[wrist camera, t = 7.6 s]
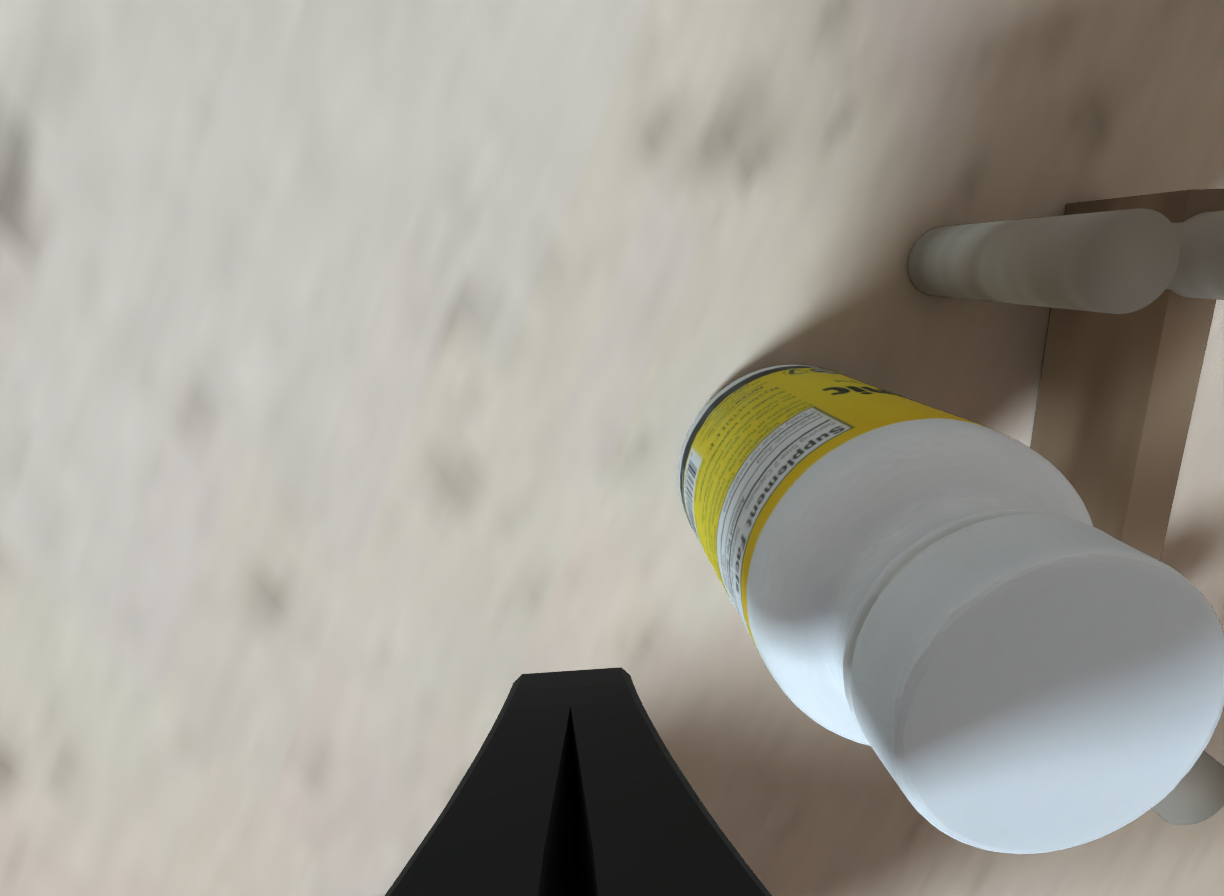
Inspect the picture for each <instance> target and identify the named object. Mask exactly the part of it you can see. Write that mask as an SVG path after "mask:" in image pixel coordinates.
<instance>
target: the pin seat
mask: <svg viewBox="0 0 1224 896" xmlns="http://www.w3.org/2000/svg"><path fill="white" fill-rule="evenodd" d="M908 272H909V276H910V279H911V281H912V283H913V284H914V286H915V287H916V288H917V289H918V290H920V291H921V292H923V293H925V294H927V295H931V296H939V297H950V298H960V299H970V300H980V301H990V302H1000V303H1010V304H1020V305H1030V306H1040V307H1051V312H1050V319H1049V325H1048V332H1047V339H1046V346H1045V352H1044V359H1043V366H1042V373H1041V380H1040V386H1039V393H1038V400H1037V407H1036V413H1035V420H1034V427H1033V434H1032V440H1031V447H1030V448H1031V449H1032V450H1034V451H1036V452H1037V453H1039V454H1040V455H1041V456H1043V457H1044V458H1045V459H1047V460H1048V461H1049V462H1050V463H1051V464H1052V465H1053V466H1055V467H1056V468H1057V469H1058V470H1059V471H1060V472H1061V473H1062V474H1063V475H1064V476H1065V478H1066V479H1067V480H1068V481H1069V482H1070V483H1071V485H1072V486H1073V487H1074V489H1075V490H1076V492H1077V493H1078V495H1079V496H1080V498H1081V499H1082V501H1083V503H1084V505H1085V507H1086V509H1087V511H1088V513H1089V516H1090V518H1091V521H1092V524H1093V527H1095V528H1097V529H1099V530H1102V531H1104V532H1105V533H1107V534H1108V535H1110V536H1112V537H1113V538H1115V539H1117V540H1119V541H1121V542H1123V543H1125V544H1127V545H1129V546H1131V547H1133V548H1135V549H1137V550H1139V551H1141V552H1143V553H1145V554H1147V555H1149V556H1151V557H1153V558H1155V559H1157V560H1159V561H1160V559H1161V554H1162V550H1163V545H1164V540H1165V536H1166V531H1167V526H1168V522H1169V517H1170V512H1171V508H1172V503H1173V499H1174V494H1175V489H1176V485H1177V480H1178V475H1179V471H1180V466H1181V461H1182V457H1183V452H1184V448H1185V443H1186V438H1187V434H1188V429H1189V424H1190V420H1191V415H1192V410H1193V406H1194V401H1195V397H1196V392H1197V387H1198V383H1199V378H1200V373H1201V369H1202V364H1203V359H1204V355H1205V350H1206V345H1207V341H1208V336H1209V332H1210V327H1211V322H1212V318H1213V313H1214V308H1215V304H1216V299H1219V300H1224V189H1204V190H1185V191H1176V192H1167V193H1159V194H1150V195H1141V196H1132V197H1123V198H1114V199H1106V200H1097V201H1088V202H1079V203H1070V204H1066V210H1065V215H1062V216H1051V217H1040V218H1029V219H1018V220H1007V221H995V222H984V223H973V224H962V225H951V226H941V227H936V228H934V229H931V230H929V231H927V232H926V233H925V234H923V235H922V236H921V237H920V238H919V239H918V240H917V242H916V243H915V244H914V246H913V248H912V250H911V253H910V256H909V260H908ZM1223 805H1224V766H1223V765H1221V764H1220V763H1219V762H1217V761H1216V760H1215V759H1214V758H1212V757H1211V756H1210V755H1208V754H1207V753H1206V752H1205V751H1203V752H1202V754H1201V755H1200V757H1199V758H1198V760H1197V761H1196V762H1195V764H1194V765H1193V767H1192V768H1191V770H1190V771H1189V772H1188V773H1187V774H1186V775H1185V776H1184V777H1183V778H1182V779H1181V781H1180V782H1179V783H1178V784H1177V786H1176V787H1175V788H1174V789H1173V790H1172V791H1171V792H1170V793H1169V794H1168V795H1167V796H1166V797H1165V798H1164V799H1162V800H1161V801H1160V802H1159V803H1158V804H1156V805H1155V806H1154V807H1152V809H1153V810H1154V811H1155V812H1156V813H1157V814H1158V815H1160V816H1161V817H1162V818H1163V819H1164V820H1165V821H1167V822H1169V823H1172V824H1175V825H1191V824H1195V823H1198V822H1201V821H1203V820H1206V819H1207V818H1209V817H1211V816H1212V815H1214V814H1215V813H1216V812H1218V811H1219V810H1220V809H1221V808H1222V807H1223Z"/></svg>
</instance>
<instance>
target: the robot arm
mask: <svg viewBox="0 0 1224 896" xmlns="http://www.w3.org/2000/svg"><path fill="white" fill-rule="evenodd" d="M385 896H772V895H771V894H770V893H769V892H768V890H767V889H766V888H765V887H764V885H763V884H762V883H761V882H760V880H759V879H758V878H757V876H756V875H755V874H754V873H753V871H752V870H751V869H750V868H749V866H748V865H747V864H746V862H745V861H744V860H743V858H742V857H741V856H740V854H739V853H738V852H737V850H736V849H735V848H734V846H733V845H732V844H731V842H730V841H729V840H728V838H727V837H726V836H725V834H724V833H723V832H722V830H721V829H720V828H719V826H718V825H717V823H716V822H715V821H714V819H713V818H712V816H711V815H710V814H709V812H708V811H707V809H706V808H705V806H704V805H703V804H702V802H701V801H700V799H699V798H698V796H697V795H696V793H695V792H694V790H693V789H692V787H691V785H690V784H689V782H688V781H687V779H686V778H685V776H684V775H683V773H682V772H681V770H680V769H679V767H678V766H677V764H676V763H675V761H674V759H673V758H672V756H671V755H670V753H669V751H668V750H667V748H666V746H665V745H664V743H663V741H662V740H661V738H660V736H659V734H658V733H657V731H656V729H655V727H654V725H653V724H652V722H651V720H650V718H649V716H648V714H647V713H646V711H645V709H644V707H643V705H642V703H641V701H640V698H639V696H638V694H637V692H636V690H635V687H634V685H633V682H632V679H631V676H630V675H629V674H628V673H627V672H626V671H625V670H623V669H622V668H607V669H592V670H577V671H563V672H548V673H533V674H522V675H521V676H520V677H519V678H518V679H517V680H516V681H515V682H514V683H513V686H512V688H511V690H510V693H509V695H508V697H507V699H506V701H505V703H504V705H503V707H502V709H501V711H500V713H499V715H498V717H497V719H496V721H495V723H494V725H493V727H492V729H491V731H490V732H489V734H488V736H487V738H486V740H485V741H484V743H483V745H482V747H481V749H480V750H479V752H478V754H477V756H476V757H475V759H474V761H473V762H472V764H471V766H470V767H469V769H468V771H467V772H466V774H465V776H464V777H463V779H462V781H461V782H460V784H459V785H458V787H457V789H456V790H455V792H454V794H453V795H452V797H451V799H450V800H449V802H448V804H447V805H446V807H445V808H444V810H443V811H442V813H441V815H440V816H439V818H438V819H437V821H436V822H435V824H434V825H433V827H432V828H431V829H430V831H429V832H428V834H427V835H426V837H425V838H424V840H423V841H422V843H421V844H420V846H419V847H418V848H417V850H416V851H415V853H414V854H413V856H412V857H411V859H410V860H409V862H408V863H407V864H406V866H405V867H404V869H403V870H402V872H401V873H400V875H399V876H398V878H397V879H396V880H395V882H394V883H393V885H392V886H391V888H390V889H389V890H388V892H387V893H386V895H385Z"/></svg>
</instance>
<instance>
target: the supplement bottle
mask: <svg viewBox="0 0 1224 896" xmlns="http://www.w3.org/2000/svg"><path fill="white" fill-rule="evenodd" d="M678 481H679V490H680V496H681V501H682V504H683V507H684V510H685V513H686V516H687V518H688V521H689V523H690V525H691V527H692V529H693V530H694V533H695V535H696V537H697V538H698V540H699V542H700V544H701V546H702V548H703V549H704V551H705V553H706V555H707V557H708V559H709V561H710V563H711V564H712V566H713V567H714V569H715V571H716V573H717V576H718V578H719V580H720V581H721V582H722V584H723V586H724V588H725V590H726V592H727V594H728V596H729V598H730V599H731V601H732V603H733V605H734V606H735V609H736V610H737V612H738V614H739V615H740V617H741V619H742V622H743V624H744V626H745V627H746V629H747V631H748V633H749V635H750V637H751V639H752V641H753V642H754V644H755V646H756V648H757V650H758V652H759V654H760V656H761V658H762V659H763V661H764V663H765V664H766V666H767V668H768V669H769V671H770V673H771V674H772V676H773V677H774V679H775V680H776V682H777V683H778V685H779V686H780V687H781V689H782V690H783V692H784V693H785V694H786V695H787V696H788V697H789V698H790V700H791V701H792V702H793V703H794V704H795V705H796V706H797V707H798V708H799V709H800V710H802V711H803V712H804V713H805V714H806V715H808V716H809V717H810V718H811V719H812V720H814V721H815V722H817V723H818V724H820V725H821V726H823V727H825V728H826V729H828V730H830V731H832V732H834V733H836V734H838V735H840V736H842V737H845V738H847V739H850V740H852V741H855V742H857V743H861V744H865V745H869V746H871V747H872V748H873V750H874V751H875V753H876V754H877V756H878V757H879V759H880V760H881V761H882V763H883V764H884V766H885V767H886V769H887V770H888V772H889V773H890V774H891V776H892V777H893V779H894V780H895V782H896V783H897V785H898V786H899V787H900V789H901V790H902V792H903V793H904V795H905V796H906V797H907V799H908V800H909V801H910V803H911V804H912V805H913V807H914V808H915V809H916V810H917V811H918V812H919V813H920V814H921V815H922V816H923V817H924V818H925V819H926V820H927V821H929V822H930V823H931V824H932V825H933V826H935V827H936V828H937V829H938V830H940V831H942V832H943V833H945V834H947V835H948V836H950V837H952V838H954V839H956V840H958V841H960V842H962V843H965V844H968V845H971V846H974V847H977V848H980V849H983V850H988V851H994V852H1002V853H1013V854H1032V853H1045V852H1052V851H1057V850H1062V849H1067V848H1071V847H1074V846H1078V845H1081V844H1085V843H1087V842H1090V841H1093V840H1095V839H1098V838H1101V837H1103V836H1105V835H1107V834H1109V833H1111V832H1113V831H1116V830H1118V829H1120V828H1121V827H1123V826H1125V825H1127V824H1128V823H1130V822H1132V821H1134V820H1135V819H1137V818H1138V817H1140V816H1141V815H1142V814H1144V813H1145V812H1147V811H1148V810H1149V809H1151V808H1152V807H1154V806H1155V805H1156V804H1158V803H1159V802H1160V801H1161V800H1162V799H1164V798H1165V797H1166V796H1167V795H1168V794H1169V793H1170V792H1171V791H1172V790H1173V789H1174V788H1175V787H1176V786H1177V784H1178V783H1179V782H1180V781H1181V779H1182V778H1183V777H1184V776H1185V775H1186V774H1187V773H1188V772H1189V771H1190V770H1191V768H1192V767H1193V765H1194V764H1195V762H1196V761H1197V760H1198V758H1199V757H1200V755H1201V754H1202V752H1203V750H1204V749H1205V747H1206V746H1207V744H1208V743H1209V741H1210V739H1211V737H1212V735H1213V733H1214V730H1215V728H1216V726H1217V723H1218V721H1219V719H1220V717H1221V713H1222V710H1223V706H1224V633H1223V629H1222V626H1221V624H1220V622H1219V620H1218V618H1217V616H1216V614H1215V612H1214V610H1213V608H1212V606H1211V605H1210V603H1209V602H1208V601H1207V599H1206V598H1205V597H1204V595H1203V594H1202V593H1201V592H1200V591H1199V590H1198V589H1197V588H1196V587H1195V586H1194V585H1193V584H1192V583H1191V582H1190V581H1189V580H1188V579H1187V578H1185V577H1184V576H1183V575H1182V574H1180V573H1179V572H1177V571H1176V570H1175V569H1173V568H1172V567H1170V566H1168V565H1166V564H1165V563H1163V562H1161V561H1159V560H1157V559H1155V558H1153V557H1151V556H1149V555H1147V554H1145V553H1143V552H1141V551H1139V550H1137V549H1135V548H1133V547H1131V546H1129V545H1127V544H1125V543H1123V542H1121V541H1119V540H1117V539H1115V538H1113V537H1112V536H1110V535H1108V534H1107V533H1105V532H1104V531H1102V530H1099V529H1097V528H1095V527H1093V524H1092V521H1091V518H1090V516H1089V513H1088V511H1087V509H1086V507H1085V505H1084V503H1083V501H1082V499H1081V498H1080V496H1079V495H1078V493H1077V492H1076V490H1075V489H1074V487H1073V486H1072V485H1071V483H1070V482H1069V481H1068V480H1067V479H1066V478H1065V476H1064V475H1063V474H1062V473H1061V472H1060V471H1059V470H1058V469H1057V468H1056V467H1055V466H1053V465H1052V464H1051V463H1050V462H1049V461H1048V460H1047V459H1045V458H1044V457H1043V456H1041V455H1040V454H1039V453H1037V452H1036V451H1034V450H1032V449H1031V448H1029V447H1028V446H1026V445H1024V444H1023V443H1021V442H1019V441H1017V440H1015V439H1013V438H1011V437H1009V436H1006V435H1004V434H1002V433H999V432H997V431H995V430H993V429H990V428H988V427H985V426H983V425H980V424H978V423H975V422H972V421H969V420H966V419H964V418H961V417H958V416H955V415H952V414H949V413H946V412H943V411H941V410H938V409H935V408H932V407H929V406H926V405H924V404H921V403H918V402H915V401H912V400H910V399H907V398H905V397H902V396H900V395H897V394H893V393H890V392H888V391H885V390H882V389H879V388H876V387H874V386H871V385H868V384H865V383H863V382H860V381H858V380H855V379H852V378H850V377H847V376H845V375H842V374H839V373H836V372H833V371H829V370H826V369H822V368H818V367H814V366H808V365H778V366H773V367H768V368H764V369H760V370H757V371H755V372H752V373H749V374H747V375H745V376H743V377H741V378H739V379H737V380H736V381H734V382H732V383H731V384H729V385H728V386H727V387H725V388H724V389H722V390H721V391H720V392H719V393H718V394H716V395H715V396H714V397H713V398H712V399H711V400H710V401H709V402H708V403H707V404H706V406H705V407H704V408H703V409H702V411H701V412H700V413H699V415H698V416H697V418H696V419H695V421H694V422H693V424H692V426H691V427H690V429H689V432H688V434H687V436H686V439H685V441H684V444H683V447H682V452H681V456H680V462H679V473H678Z"/></svg>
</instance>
